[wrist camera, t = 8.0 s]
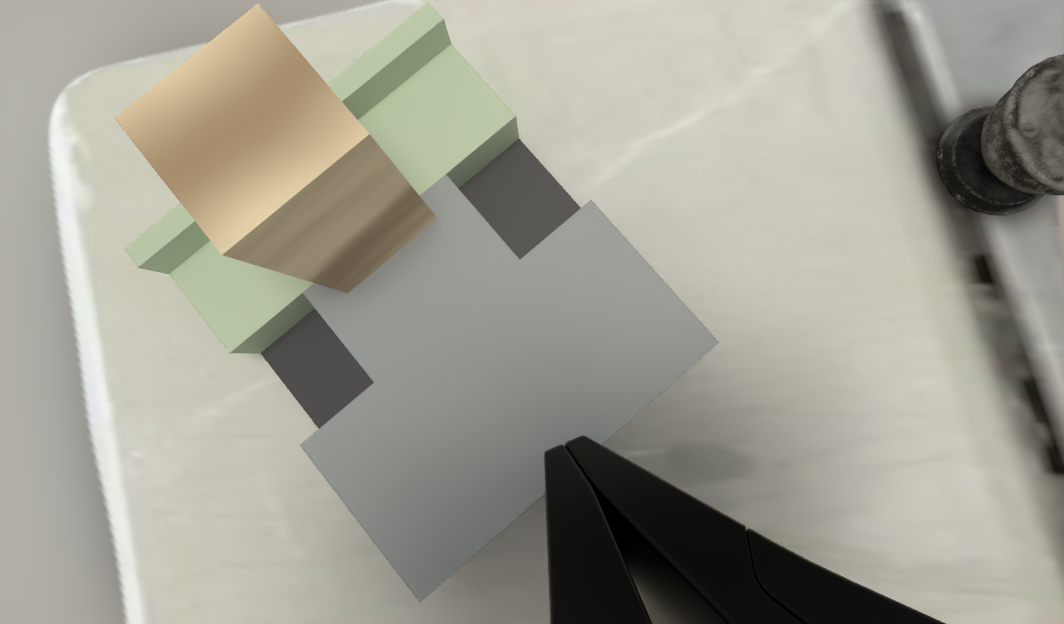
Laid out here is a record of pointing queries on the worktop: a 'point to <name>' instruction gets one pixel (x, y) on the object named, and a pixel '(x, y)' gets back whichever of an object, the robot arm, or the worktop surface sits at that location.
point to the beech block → (274, 160)
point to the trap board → (449, 318)
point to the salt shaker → (1009, 145)
